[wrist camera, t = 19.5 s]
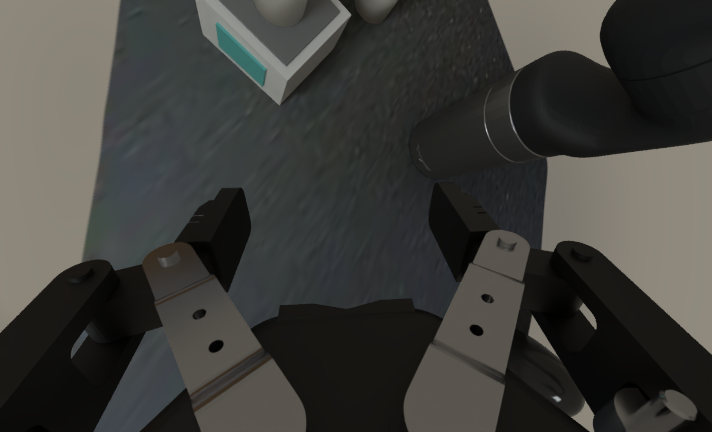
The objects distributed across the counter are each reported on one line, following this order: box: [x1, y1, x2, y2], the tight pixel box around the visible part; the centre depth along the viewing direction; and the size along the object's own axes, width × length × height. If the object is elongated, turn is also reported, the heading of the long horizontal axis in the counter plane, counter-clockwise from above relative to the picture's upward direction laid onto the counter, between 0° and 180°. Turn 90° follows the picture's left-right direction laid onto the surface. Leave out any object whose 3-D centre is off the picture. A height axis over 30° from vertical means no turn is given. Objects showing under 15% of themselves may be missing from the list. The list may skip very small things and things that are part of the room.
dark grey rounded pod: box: [507, 328, 585, 417], centre depth 40 cm, size 10×10×15 cm
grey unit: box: [196, 0, 351, 105], centre depth 33 cm, size 11×11×7 cm
